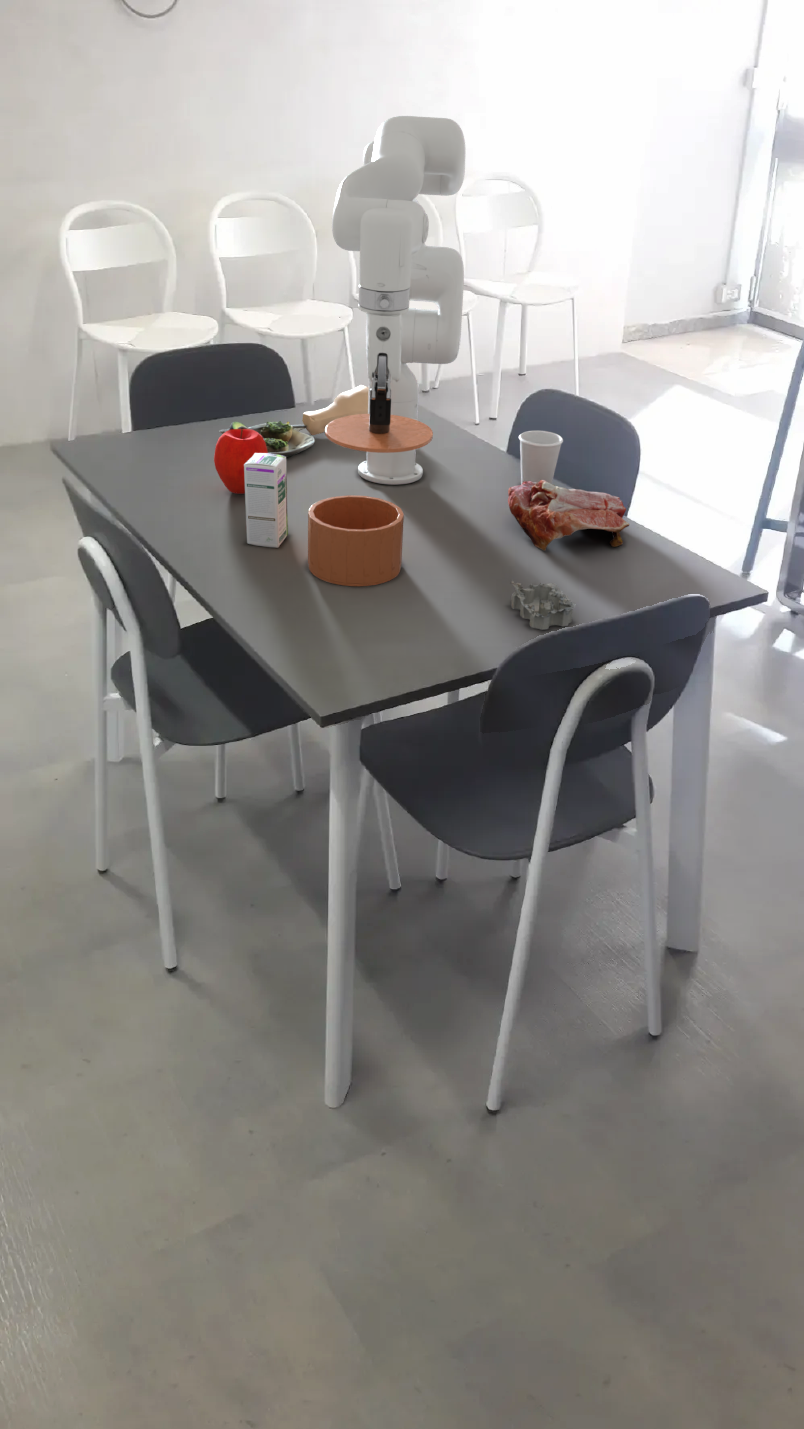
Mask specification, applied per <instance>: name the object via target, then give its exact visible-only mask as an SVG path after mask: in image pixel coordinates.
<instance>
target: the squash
mask: <svg viewBox="0 0 804 1429" xmlns="http://www.w3.org/2000/svg"><path fill="white" fill-rule="evenodd" d="M368 394H369V386H366V385H363V384H360V385H358V386H356V387H354V388H352V389H349V390H346V391H343V392H340V393H339V394H338V395H337V396H336V397H335V398H334V399H333V402H332V403H331V404H329V405H328V406H327V407H325V408H321V409H318V410H311V411H305V412H303V413H302V420H301V422H302V425H306V428H305V429H306V431H307V432H308V433H309V434H310V436H316V435H320V434H322V433H325V428H326V426H327V425H328V424H329V423H330V422H332V421H333V420H336V419H338V418H341V417H345V416H350V415H358V414H368Z"/></svg>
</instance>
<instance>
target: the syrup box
mask: <svg viewBox="0 0 804 1429" xmlns="http://www.w3.org/2000/svg"><path fill="white" fill-rule="evenodd" d="M244 478H245V494H244V503H245V504H244V505H245V506H244V507H245V526H246V527H245V528H246V543H247V544H249V545H253V546H257V547H258V546H259V547H267V548H277V549H279V547H280V545H281V544H282V543H283V542H284V540H285V539H286V538H287V536H288V535H289V527H288V526H289V524H288V523H289V522H288V479H287V478H288V476H287V457H286V456H282V455H277V454H269V453H254V455H253V456H252V457H251V458H250V459H249V460H248V461H247V462H246V463H245V464H244Z"/></svg>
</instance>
